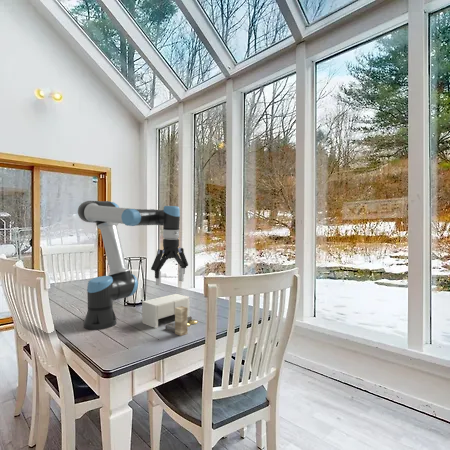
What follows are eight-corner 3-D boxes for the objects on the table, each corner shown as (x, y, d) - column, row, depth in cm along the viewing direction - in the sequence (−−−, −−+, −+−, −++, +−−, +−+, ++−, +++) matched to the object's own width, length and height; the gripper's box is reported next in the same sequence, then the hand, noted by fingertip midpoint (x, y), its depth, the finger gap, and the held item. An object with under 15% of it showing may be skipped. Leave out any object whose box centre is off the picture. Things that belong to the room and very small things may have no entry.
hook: (180, 336, 144) (180, 309, 143) (163, 329, 152) (163, 304, 151) (207, 326, 157) (207, 302, 156) (190, 320, 165) (189, 297, 164)
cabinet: (155, 328, 154) (155, 305, 153) (142, 323, 161) (142, 301, 161) (189, 317, 170) (189, 297, 170) (176, 313, 178) (176, 293, 177)
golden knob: (186, 328, 155) (186, 325, 155) (179, 326, 157) (179, 324, 157) (192, 325, 158) (192, 323, 158) (185, 323, 161) (185, 321, 161)
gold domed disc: (193, 325, 159) (193, 323, 159) (187, 323, 161) (187, 321, 161) (199, 323, 162) (199, 320, 162) (192, 321, 165) (192, 319, 165)
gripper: (153, 240, 139) (152, 288, 140) (195, 238, 158) (194, 280, 159) (143, 239, 144) (143, 285, 145) (185, 236, 163) (184, 278, 164)
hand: (170, 283), depth 152 cm, fingers open, 13 cm apart
